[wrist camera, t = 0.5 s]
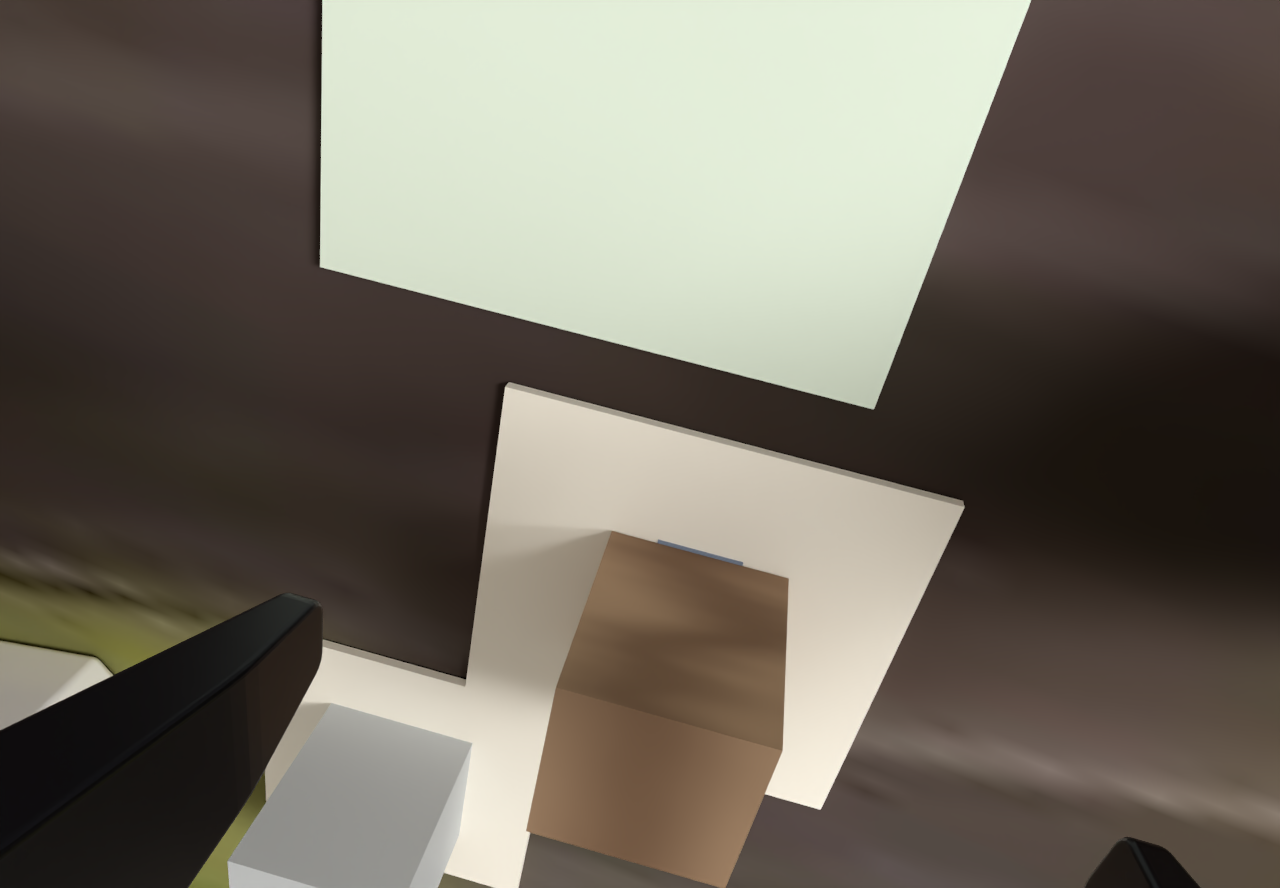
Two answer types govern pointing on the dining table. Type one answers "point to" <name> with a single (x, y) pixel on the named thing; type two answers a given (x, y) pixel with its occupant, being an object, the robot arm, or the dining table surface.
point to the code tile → (710, 526)
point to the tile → (447, 707)
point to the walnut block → (666, 711)
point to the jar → (41, 678)
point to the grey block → (359, 809)
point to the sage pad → (662, 166)
